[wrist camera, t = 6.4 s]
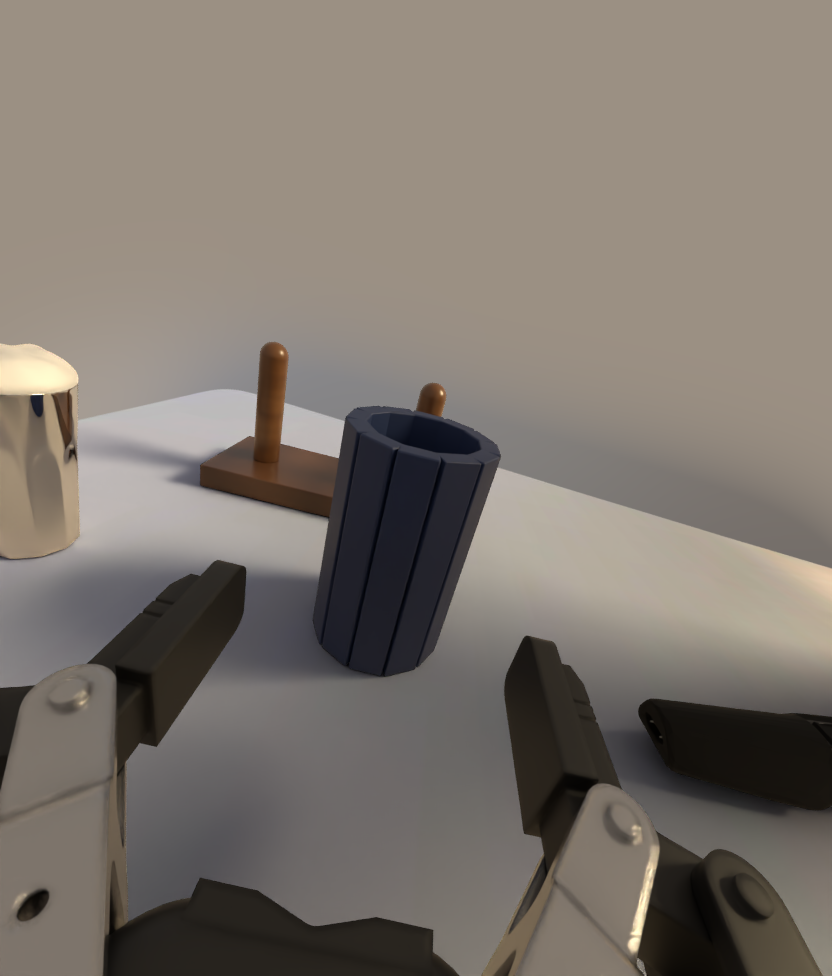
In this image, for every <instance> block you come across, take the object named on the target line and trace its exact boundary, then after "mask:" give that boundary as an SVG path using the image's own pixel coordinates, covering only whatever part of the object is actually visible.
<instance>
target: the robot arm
mask: <svg viewBox="0 0 832 976" xmlns="http://www.w3.org/2000/svg"><path fill="white" fill-rule="evenodd" d="M245 586H246V568H245V567H244V566H241V565H237V564H233V563H228V562H224V561H220V560H217V561H215V562H213V563H212V564H211V565H210V566H209V567H208V568H207V570H206V571H205V572H204V573H203V574H202V575H201V576H198V575H194V574H189V575H187V576H185V577H183V578H181V579H179V580H178V581H176V582H174V583H172V584H170V585H169V586H168V587H167V588H166V589H165V590H164V591H163V592H162V593H161V594H160V595H159V596H158V597H157V598H156V600H155V601H152V602H151V603H150V604H149V605H148V606H147V607H146V608H145V609H144V611H143V613H140V614H139V615H138V616H137V617H136V618H135V619H134V620H133V621H131V622H130V623H129V624H128V625H127V626H126V627H125V628H124V629H123V630H122V631H121V632H120V633H119V634H118V635H117V636H116V637H115V638H114V639H113V640H112V641H111V642H110V643H108V644H107V645H106V646H105V647H104V648H103V649H102V650H101V651H100V652H99V653H98V654H97V655H96V656H95V657H94V658H93V659H92V660H91V661H89V662H88V663H87V664H82V665H76V666H72V667H69V668H65V669H63V670H60V671H58V672H56V673H54V674H52V675H50V676H48V677H47V678H45V679H43V680H42V681H41V682H39V683H38V684H37V685H34V686H24V687H8V688H0V976H459V975H458V974H457V973H456V972H455V970H454V969H453V968H452V967H451V966H449V965H448V964H447V963H446V962H445V961H444V960H443V959H442V958H441V957H439V956H438V955H436V954H435V953H433V930H431V929H427V928H422V927H418V926H413V925H409V924H404V923H400V922H395V921H391V920H386V919H382V918H377V917H375V918H368V919H362V920H356V921H349V922H343V923H336V924H330V925H323V926H311V925H309V924H307V923H305V922H303V921H302V920H301V919H299V918H298V917H296V916H295V915H293V914H292V913H290V912H289V911H287V910H286V909H284V908H283V907H281V906H280V905H278V904H277V903H275V902H274V901H272V900H271V899H269V898H268V897H266V896H265V895H263V894H262V893H260V892H259V891H257V890H253V889H248V888H244V887H239V886H235V885H230V884H226V883H221V882H217V881H212V880H208V879H203V878H200V879H199V881H198V883H197V885H196V888H195V890H194V892H193V894H192V897H191V898H185V899H180V900H176V901H173V902H170V903H166V904H163V905H161V906H159V907H156V908H154V909H152V910H149V911H147V912H145V913H143V914H141V915H140V916H138V917H136V918H134V919H133V920H131V921H129V922H128V883H127V866H126V792H127V764H126V761H127V760H128V758H129V757H130V755H131V754H132V753H133V751H134V750H135V749H136V747H137V746H138V744H139V743H142V744H146V745H151V746H155V747H157V746H158V744H159V743H160V741H161V740H162V738H163V737H164V735H165V734H166V732H167V731H168V730H169V728H170V727H171V725H172V724H173V722H174V721H175V719H176V718H177V716H178V715H179V713H180V712H181V710H182V709H183V708H184V706H185V705H186V703H187V702H188V700H189V699H190V697H191V696H192V694H193V693H194V691H195V690H196V688H197V687H198V686H199V684H200V683H201V681H202V680H203V678H204V677H205V675H206V674H207V672H208V671H209V669H210V668H211V666H212V665H213V664H214V662H215V661H216V659H217V658H218V656H219V655H220V653H221V652H222V650H223V649H224V647H225V646H226V644H227V643H228V642H229V640H230V639H231V637H232V636H233V634H234V633H235V631H236V630H237V628H238V626H239V624H240V621H241V619H242V615H243V611H244V602H245ZM504 696H505V704H506V711H507V718H508V725H509V732H510V739H511V746H512V753H513V760H514V767H515V774H516V781H517V788H518V795H519V802H520V809H521V816H522V823H523V830H524V834H528V835H532V836H537V837H541V839H542V845H543V850H544V854H543V855H542V856H541V858H540V860H539V862H538V864H537V866H536V868H535V870H534V872H533V874H532V877H531V879H530V881H529V883H528V885H527V887H526V889H525V891H524V893H523V895H522V898H521V900H520V902H519V904H518V906H517V908H516V910H515V912H514V914H513V916H512V919H511V921H510V923H509V925H508V927H507V929H506V931H505V933H504V935H503V937H502V939H501V941H500V943H499V945H498V947H497V949H496V951H495V952H494V954H493V956H492V957H491V959H490V961H489V962H488V964H487V966H486V968H485V969H484V971H483V973H482V975H481V976H644V975H643V973H642V972H641V971H640V970H639V969H638V968H637V958H639V959H640V960H642V961H643V963H644V966H645V970H646V974H647V976H823V975H822V973H821V972H820V970H819V968H818V966H817V964H816V962H815V960H814V958H813V956H812V955H811V953H810V951H809V949H808V947H807V945H806V943H805V941H804V940H803V938H802V936H801V934H800V932H799V930H798V928H797V926H796V925H795V923H794V921H793V919H792V917H791V915H790V913H789V911H788V910H787V908H786V906H785V904H784V903H783V901H782V899H781V898H780V897H779V895H778V894H777V892H776V891H775V890H774V888H773V887H772V886H771V885H770V883H769V882H768V881H767V880H766V879H765V878H764V877H763V876H762V874H760V873H759V872H758V871H757V870H756V869H755V868H754V867H753V866H752V865H750V864H749V863H748V862H747V861H745V860H744V859H742V858H741V857H739V856H738V855H736V854H734V853H732V852H729V851H727V850H722V849H716V850H713V851H711V852H710V853H709V854H708V855H707V856H706V857H705V858H704V859H702V858H700V857H699V856H697V855H695V854H693V853H692V852H690V851H688V850H687V849H685V848H683V847H681V846H680V845H678V844H676V843H675V842H673V841H671V840H669V839H668V838H666V837H664V836H663V835H661V834H660V833H658V832H657V831H655V828H654V826H653V824H652V822H651V820H650V819H649V817H648V815H647V814H646V813H645V811H644V810H643V809H642V807H641V806H640V805H639V804H638V803H637V802H636V801H635V800H634V799H633V798H632V797H631V796H630V795H628V794H627V793H626V792H624V791H623V790H622V788H621V786H620V784H619V781H618V778H617V775H616V773H615V770H614V767H613V764H612V762H611V759H610V756H609V753H608V750H607V748H606V745H605V742H604V739H603V737H602V734H601V731H600V728H599V726H598V723H596V717H595V715H594V712H593V709H592V707H591V706H590V701H589V698H588V695H587V693H586V690H585V687H584V684H583V683H582V681H581V680H580V679H579V677H578V676H577V674H576V673H575V672H574V670H573V669H572V668H571V666H569V665H564V664H562V663H561V660H560V656H559V653H558V650H557V647H556V645H555V643H554V642H552V641H548V640H544V639H539V638H535V637H531V636H525V637H524V638H523V640H522V642H521V644H520V646H519V648H518V650H517V653H516V655H515V657H514V659H513V661H512V663H511V665H510V668H509V670H508V672H507V675H506V679H505V686H504Z"/></svg>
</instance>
